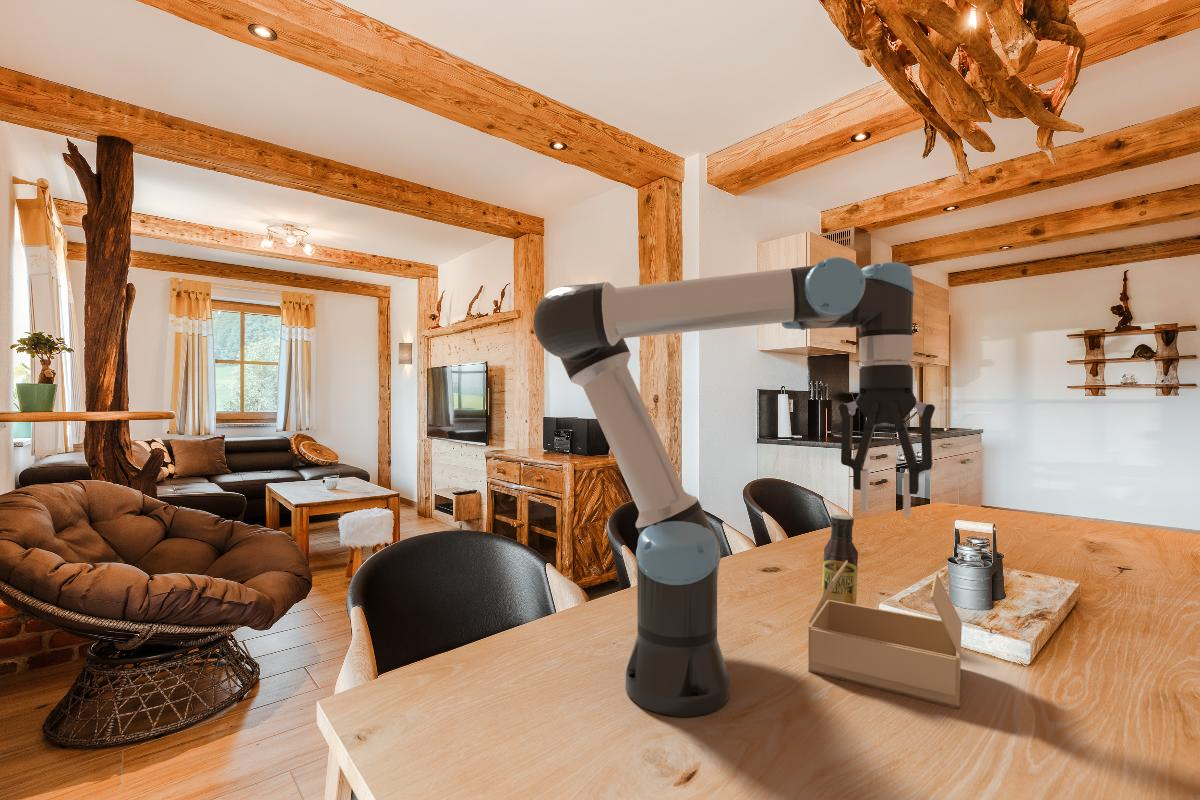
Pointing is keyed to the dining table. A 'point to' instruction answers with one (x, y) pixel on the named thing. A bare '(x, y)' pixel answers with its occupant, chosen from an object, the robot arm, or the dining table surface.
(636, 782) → the dining table surface
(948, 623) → the flap outer
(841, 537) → the sauce bottle
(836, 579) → the flap inner
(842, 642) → the carton
